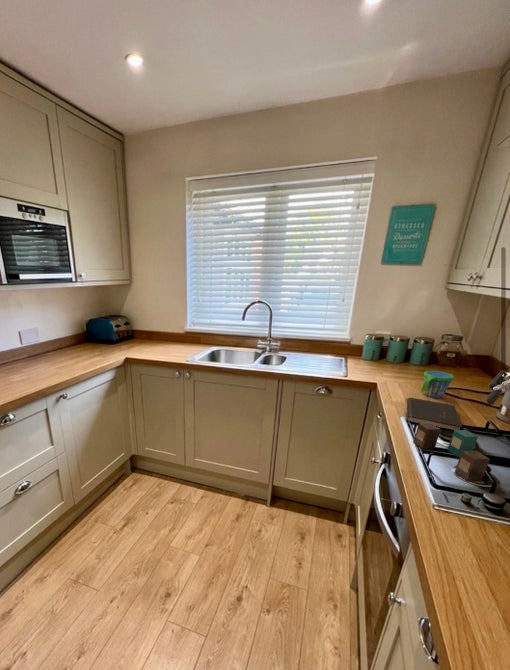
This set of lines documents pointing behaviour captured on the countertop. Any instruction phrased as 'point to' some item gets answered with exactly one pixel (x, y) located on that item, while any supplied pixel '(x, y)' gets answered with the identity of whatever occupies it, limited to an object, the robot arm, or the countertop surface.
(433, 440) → the walnut block
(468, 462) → the walnut block
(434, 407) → the hardcover book
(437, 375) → the snack cup
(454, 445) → the teal block
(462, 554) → the countertop surface
